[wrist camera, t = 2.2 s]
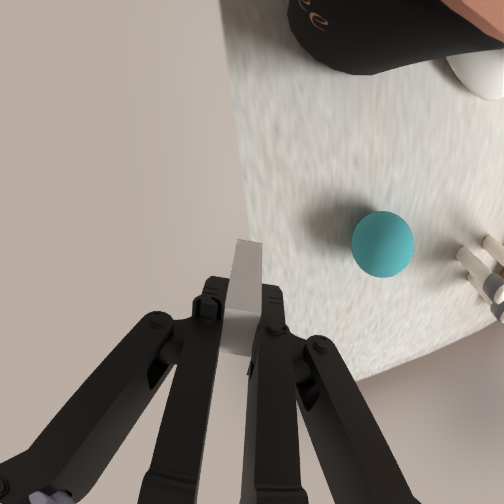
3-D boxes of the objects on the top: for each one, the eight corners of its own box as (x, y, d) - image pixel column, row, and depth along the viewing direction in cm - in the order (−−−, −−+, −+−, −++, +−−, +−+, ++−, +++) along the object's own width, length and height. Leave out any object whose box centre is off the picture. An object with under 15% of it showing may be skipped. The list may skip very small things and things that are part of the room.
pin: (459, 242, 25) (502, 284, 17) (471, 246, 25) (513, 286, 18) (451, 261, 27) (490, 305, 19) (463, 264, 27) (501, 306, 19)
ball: (354, 196, 24) (377, 219, 19) (405, 210, 24) (435, 235, 19) (336, 252, 27) (352, 286, 21) (385, 261, 27) (408, 294, 22)
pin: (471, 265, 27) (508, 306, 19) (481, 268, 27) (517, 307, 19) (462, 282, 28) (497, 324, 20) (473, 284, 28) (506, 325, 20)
